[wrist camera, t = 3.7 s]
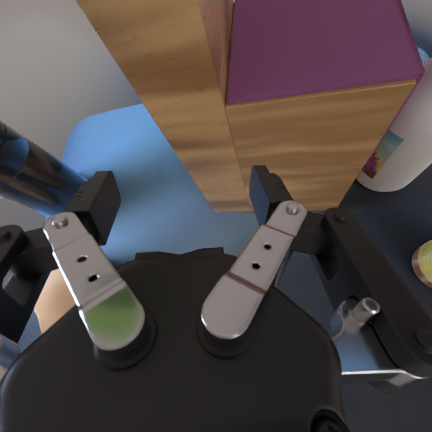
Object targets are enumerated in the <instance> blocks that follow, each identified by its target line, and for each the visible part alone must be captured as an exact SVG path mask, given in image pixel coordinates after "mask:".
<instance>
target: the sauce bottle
mask: <svg viewBox="0 0 432 432" xmlns="http://www.w3.org/2000/svg"><path fill="white" fill-rule="evenodd" d="M411 261H412V267H413V269H414V272H415V274H416V276H417V277H418V278H419V279H420V280H421V281H422V282H423V283H424V284H426V285H427V286H429V287H430V288H432V240H430V241H428V242H426V243H425V244H424V245H422V246H420V247H419V248H418V249H417V250H416V251H415V252H414V253H413V256H412V260H411Z"/></svg>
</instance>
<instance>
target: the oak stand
mask: <svg viewBox="0 0 432 432" xmlns="http://www.w3.org/2000/svg"><path fill="white" fill-rule="evenodd" d="M76 2H77V3H78V4H79V6H80V8H81V9H82V11H83V12H84V14H85V15H86V17H87V18H88V20H89V21H90V23H91V24H92V26H93V28H94V29H95V31H96V32H97V34H98V35H99V37H100V38H101V40H102V41H103V43H104V44H105V46H106V47H107V49H108V50H109V52H110V54H111V55H112V57H113V58H114V60H115V61H116V63H117V64H118V66H119V67H120V69H121V70H122V72H123V73H124V75H125V76H126V78H127V80H128V81H129V82H130V84H131V85H132V87H133V89H134V90H135V92H136V93H137V95H138V96H139V98H140V99H141V101H142V102H143V104H144V106H145V107H146V109H147V110H148V112H149V113H150V115H151V116H152V118H153V119H154V121H155V122H156V124H157V125H158V127H159V128H160V130H161V132H162V133H163V135H164V136H165V138H166V139H167V141H168V142H169V144H170V145H171V147H172V148H173V150H174V151H175V153H176V154H177V156H178V158H179V159H180V161H181V162H182V164H183V165H184V167H185V168H186V170H187V171H188V173H189V174H190V176H191V177H192V179H193V180H194V182H195V183H196V185H197V187H198V188H199V190H200V191H201V193H202V194H203V196H204V197H205V199H206V200H207V202H208V203H209V205H210V206H211V208H212V209H213V211H214V212H255V211H254V209H253V206H252V203H251V200H250V196H249V185H250V176H251V169H252V166H253V165H266V167H267V169H268V170H269V172H270V173H275V174H276V175H278V176H279V177H280V178H281V179H282V181H283V184H284V185H285V186H286V188H287V190H288V192H289V193H290V195H291V197H292V198H293V200H294V201H296V202H299V203H301V204H303V205H304V206H305V207H306V209H307V211H326V210H327V209H329V208H333V207H338V205H339V204H340V202H341V201H342V199H343V198H344V196H345V194H346V193H347V191H348V190H349V188H350V187H351V185H352V183H353V182H354V180H355V179H356V177H357V176H358V174H359V172H360V171H361V169H362V168H363V166H364V165H365V163H366V161H367V160H368V158H369V157H370V155H371V154H372V152H373V150H374V149H375V147H376V146H377V144H378V143H379V141H380V139H381V138H382V136H383V135H384V133H385V132H386V130H387V129H388V127H389V125H390V124H391V122H392V121H393V119H394V118H395V116H396V114H397V113H398V111H399V110H400V108H401V107H402V105H403V103H404V102H405V100H406V99H407V97H408V96H409V94H410V92H411V91H412V89H413V88H414V86H415V85H416V79H411V80H404V81H396V82H389V83H382V84H375V85H367V86H360V87H353V88H345V89H338V90H331V91H323V92H316V93H309V94H302V95H294V96H287V97H280V98H272V99H265V100H258V101H250V102H243V103H236V104H229V105H228V104H227V91H228V79H229V66H230V54H231V42H232V30H233V18H234V6H235V3H234V2H233V0H76Z"/></svg>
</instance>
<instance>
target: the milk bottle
mask: <svg viewBox="0 0 432 432" xmlns="http://www.w3.org/2000/svg"><path fill="white" fill-rule="evenodd" d="M423 66H424V69H425V74H424V76H423V77H422V79H421V80H420V82H419V83H418V85H417V86H416V88H415V89H414V91H413V93H412V94H411V96H410V97H409V99H408V100H407V102H406V103H405V105H404V106H403V108H402V110H401V111H400V113H399V114H398V116H397V117H396V119H395V120H394V122H393V123H392V125H391V127H390V128H389V130H388V131H387V133H386V134H385V136H384V137H383V139H382V140H381V142H380V144H379V145H378V147H377V148H376V150H375V151H374V153H373V154H372V156H371V157H370V159H369V161H368V162H367V164H366V165H365V166H363V168H362V169H361V171H360V172H359V174H358V176H357V177H356V180H357V181H358V182H359V183H360V184H362V185H363V186H364V187H366V188H368V189H371V190H373V191H378V192H391V191H396V190H399V189H402V188H403V187H405V186H406V185H408V184H409V183H410V182H411V181H413V180H414V179H415V178H416V177H417V176H418V175H419V174H420V173H421V172H423V171H424V170H425V169H426V168H427V167H428V166H429V165H430V164H431V163H432V57H431V58H430V59H429V60H428V61H427V62H425V63H424V64H423Z"/></svg>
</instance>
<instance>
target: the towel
mask: <svg viewBox="0 0 432 432" xmlns="http://www.w3.org/2000/svg"><path fill="white" fill-rule="evenodd" d="M424 74H425V69H424V66H423V63H422V60H421V58H420V55H419V52H418V49H417V46H416V43H415V40H414V37H413V35H412V31H411V29H410V26H409V23H408V20H407V17H406V14H405V11H404V8H403V5H402V2H401V0H235V6H234V18H233V30H232V42H231V54H230V66H229V79H228V91H227V104H228V105H229V104H236V103H243V102H250V101H258V100H265V99H272V98H280V97H287V96H294V95H302V94H309V93H316V92H323V91H331V90H338V89H345V88H353V87H360V86H367V85H375V84H382V83H389V82H396V81H404V80H411V79H416V85H415V86H414V88H413V89H412V91H411V92H410V94H409V96H408V97H407V99H406V100H405V102H404V103H403V105H402V107H401V108H400V110H399V111H398V113H397V114H396V116H395V118H394V119H393V121H392V122H391V124H390V125H389V127H388V129H387V130H386V132H385V133H384V135H383V136H382V138H381V139H380V141H379V143H378V144H377V146H376V147H375V149H374V150H373V152H372V154H373V153H374V151H375V150H376V148H377V147H378V145H379V144H380V142H381V140H382V139H383V137H384V136H385V134H386V133H387V131H388V130H389V128H390V127H391V125H392V123H393V122H394V120H395V119H396V117H397V116H398V114H399V113H400V111H401V110H402V108H403V106H404V105H405V103H406V102H407V100H408V99H409V97H410V96H411V94H412V93H413V91H414V89H415V88H416V86H417V85H418V83H419V82H420V80H421V79H422V77H423V76H424ZM372 154H371V155H370V157H371V156H372ZM370 157H369V158H368V160H367V161H366V163H365V165H366V164H367V162H368V161H369V159H370ZM365 165H364V166H365Z"/></svg>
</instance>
